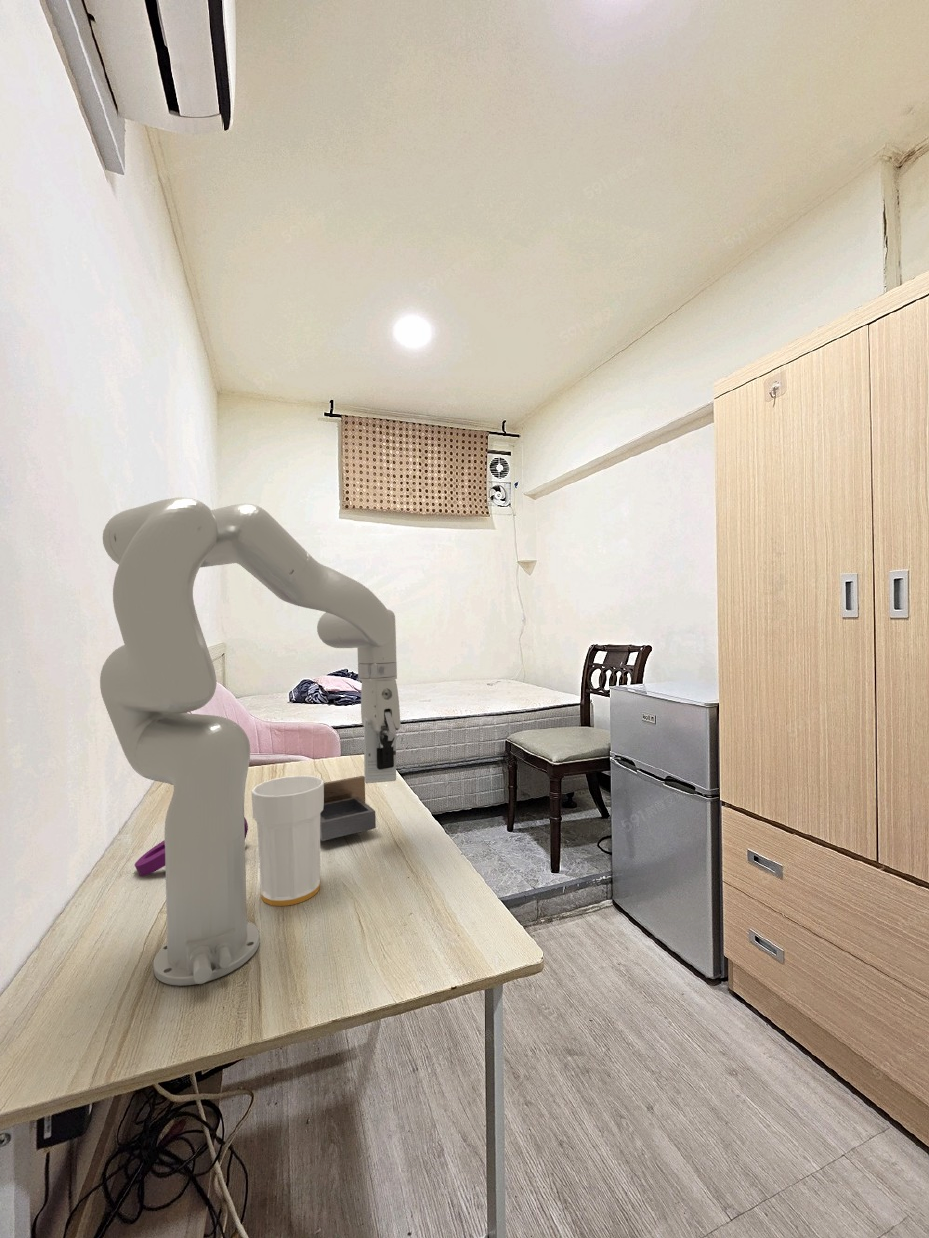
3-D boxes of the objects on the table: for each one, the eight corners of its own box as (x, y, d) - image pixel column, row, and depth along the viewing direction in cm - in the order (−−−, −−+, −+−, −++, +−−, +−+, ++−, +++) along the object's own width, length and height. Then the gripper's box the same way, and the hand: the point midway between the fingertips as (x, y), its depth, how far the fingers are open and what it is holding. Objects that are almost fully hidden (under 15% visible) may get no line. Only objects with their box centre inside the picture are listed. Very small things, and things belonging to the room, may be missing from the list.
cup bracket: (387, 834, 106) (386, 791, 107) (309, 854, 98) (307, 807, 98) (364, 814, 119) (362, 775, 119) (292, 830, 110) (291, 788, 111)
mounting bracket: (152, 914, 90) (251, 853, 95) (127, 874, 89) (228, 815, 94) (165, 888, 99) (255, 834, 104) (143, 852, 98) (234, 799, 103)
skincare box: (365, 784, 98) (363, 720, 98) (364, 777, 102) (362, 716, 102) (397, 781, 99) (396, 718, 99) (395, 774, 103) (393, 714, 104)
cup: (340, 888, 85) (337, 782, 85) (275, 918, 76) (272, 801, 77) (304, 868, 92) (302, 771, 93) (242, 893, 84) (239, 787, 84)
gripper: (412, 673, 95) (415, 771, 95) (380, 668, 110) (382, 753, 110) (374, 676, 92) (376, 778, 91) (346, 671, 107) (348, 759, 106)
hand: (380, 763), depth 101 cm, fingers closed on skincare box, 5 cm apart
